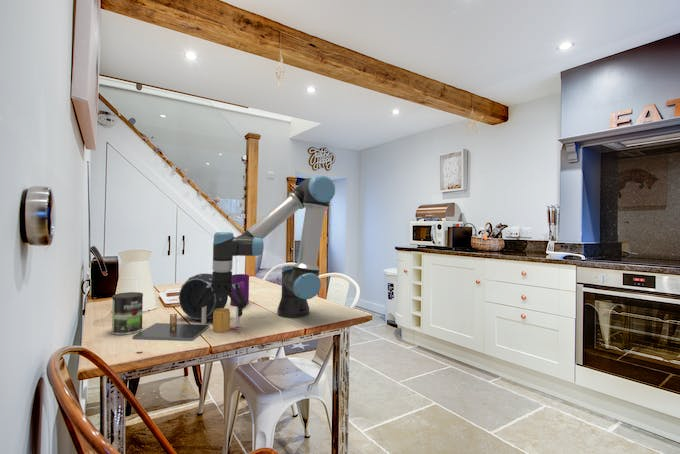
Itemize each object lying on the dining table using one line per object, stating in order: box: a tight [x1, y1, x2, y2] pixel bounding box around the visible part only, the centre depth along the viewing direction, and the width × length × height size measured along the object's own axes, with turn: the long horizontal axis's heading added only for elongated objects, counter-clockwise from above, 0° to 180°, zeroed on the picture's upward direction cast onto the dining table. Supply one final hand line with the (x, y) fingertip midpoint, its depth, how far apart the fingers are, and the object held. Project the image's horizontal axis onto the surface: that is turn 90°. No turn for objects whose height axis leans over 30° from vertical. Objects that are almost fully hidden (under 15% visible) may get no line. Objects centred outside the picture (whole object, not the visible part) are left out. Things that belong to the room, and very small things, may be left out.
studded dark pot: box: [178, 273, 229, 322], centre depth 154 cm, size 11×20×20 cm, turn 78°
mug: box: [230, 273, 250, 307], centre depth 179 cm, size 9×16×15 cm, turn 24°
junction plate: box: [132, 313, 210, 342], centre depth 136 cm, size 22×16×7 cm
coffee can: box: [111, 291, 144, 336], centre depth 137 cm, size 10×10×14 cm
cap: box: [212, 307, 231, 333], centre depth 140 cm, size 6×6×8 cm
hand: (220, 323), depth 140 cm, fingers open, 13 cm apart
